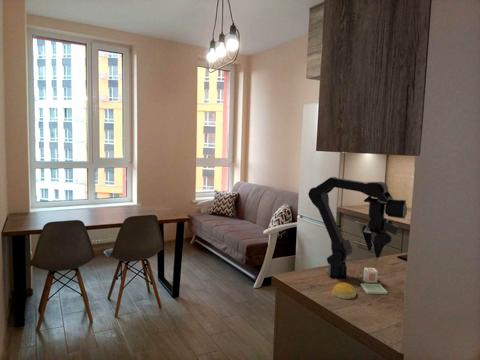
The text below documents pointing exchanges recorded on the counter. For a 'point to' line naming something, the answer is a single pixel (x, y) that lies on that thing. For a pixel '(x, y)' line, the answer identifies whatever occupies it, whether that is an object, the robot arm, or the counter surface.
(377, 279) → the walnut tray
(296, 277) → the counter surface
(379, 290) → the green tray
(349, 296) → the bread roll
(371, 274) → the letter block
